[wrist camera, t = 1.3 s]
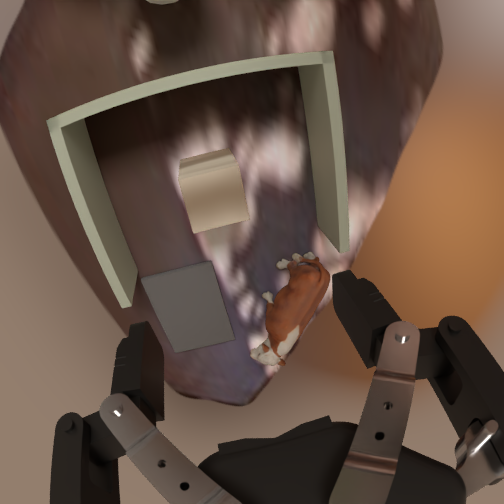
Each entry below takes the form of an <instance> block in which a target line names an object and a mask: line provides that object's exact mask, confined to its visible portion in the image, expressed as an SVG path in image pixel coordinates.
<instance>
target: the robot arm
mask: <svg viewBox="0 0 504 504" xmlns="http://www.w3.org/2000/svg"><path fill="white" fill-rule="evenodd" d="M332 287H333V305H334V309H335V312H336V314H337V316H338V318H339V320H340V321H341V323H342V325H343V326H344V328H345V330H346V332H347V333H348V335H349V337H350V339H351V340H352V342H353V344H354V346H355V348H356V349H357V351H358V353H359V354H360V356H361V358H362V360H363V361H364V364H365V365H366V367H367V369H368V368H371V367H373V366H376V371H375V372H374V375H373V379H372V383H371V386H370V389H369V393H368V397H367V400H366V403H365V406H364V409H363V412H362V416H361V419H360V422H359V425H357V424H354V423H349V422H331V419H330V417H329V416H326V417H322V418H319V419H316V420H313V421H310V422H306V423H303V424H301V425H299V426H297V427H296V428H294V429H292V430H290V431H288V432H286V433H284V434H282V435H280V436H279V437H276V438H256V439H255V438H254V439H253V438H250V439H249V438H248V439H247V438H245V439H240V440H236V441H231V442H226V443H221V444H218V448H219V451H218V452H216V453H214V454H212V455H210V456H209V457H208V458H206V459H205V460H204V461H203V462H201V463H200V464H199V466H198V467H197V466H196V465H195V464H193V463H192V462H191V461H190V460H189V459H188V458H187V457H186V456H185V455H184V454H183V453H182V452H181V451H179V450H178V449H177V448H176V447H175V446H174V445H173V444H172V443H171V442H170V441H169V440H168V439H167V438H166V437H165V436H164V435H163V434H162V433H161V432H160V431H159V430H158V429H157V428H156V422H157V421H163V420H164V354H163V350H162V347H161V344H160V343H159V341H158V339H157V337H156V335H155V333H154V331H153V329H152V327H151V326H150V324H149V322H148V321H145V322H141V323H136V324H132V325H130V329H129V336H128V337H127V338H123V339H122V341H121V342H120V344H119V346H118V348H117V352H116V359H115V367H114V372H113V380H112V387H111V394H110V396H108V397H107V398H106V399H105V400H104V401H103V402H102V404H101V406H100V410H99V411H97V412H95V413H93V414H91V415H88V416H86V417H84V418H82V417H81V416H80V415H79V414H77V413H73V412H70V413H67V414H65V415H64V416H62V417H61V418H60V419H59V421H58V422H57V425H56V428H55V437H54V446H53V455H52V468H51V484H50V504H120V494H119V475H118V458H119V457H121V456H124V455H126V454H127V456H128V457H129V458H130V460H131V461H132V462H133V463H134V464H135V466H136V467H137V468H138V469H139V470H140V472H141V473H142V474H143V475H144V476H145V477H146V478H147V480H148V481H149V482H150V483H151V484H152V485H153V486H154V487H155V488H156V489H157V491H158V492H159V493H160V494H161V495H162V496H163V497H164V498H165V499H166V500H167V501H168V502H169V503H170V504H466V498H467V497H468V496H470V495H472V494H473V493H474V492H477V491H478V490H480V489H481V488H483V487H485V486H486V485H493V484H496V483H498V482H499V481H501V480H502V479H504V372H503V370H502V369H501V367H500V366H499V364H498V363H497V362H496V360H495V359H494V357H493V356H492V355H491V353H490V352H489V351H488V349H487V348H486V347H485V345H484V344H483V343H482V341H481V340H480V338H479V337H478V336H477V335H476V334H475V332H474V331H473V330H472V328H471V327H470V325H469V324H468V323H467V322H466V321H465V320H464V319H462V318H460V317H457V316H447V317H445V318H443V319H442V320H441V321H440V322H439V325H438V327H434V328H425V329H418V328H417V327H416V326H415V325H414V324H412V323H409V322H406V321H402V320H401V319H400V317H399V316H398V315H397V313H396V312H395V311H394V309H393V308H392V307H391V306H390V304H389V303H388V302H387V300H386V299H384V296H383V295H382V294H381V293H380V292H379V290H378V289H377V288H376V286H375V285H374V284H373V283H372V282H370V281H368V280H367V279H365V278H361V279H357V278H356V277H355V275H354V274H353V273H352V271H351V270H346V271H343V272H339V273H336V274H333V276H332ZM426 378H427V379H428V381H429V382H430V384H431V386H432V388H433V389H434V391H435V393H436V395H437V397H438V398H439V400H440V402H441V404H442V406H443V408H444V410H445V411H446V413H447V415H448V417H449V419H450V421H451V423H452V425H453V427H454V428H455V430H456V432H457V434H458V436H459V438H460V439H459V440H458V442H457V443H456V446H455V456H456V459H457V466H456V469H453V468H452V467H450V466H448V465H446V464H444V463H441V462H439V461H436V460H434V459H431V458H429V457H427V456H425V455H422V454H420V453H418V452H416V451H413V450H411V449H409V448H407V447H405V446H402V442H403V438H404V434H405V430H406V426H407V421H408V417H409V412H410V407H411V402H412V397H413V391H414V386H415V380H418V379H426Z"/></svg>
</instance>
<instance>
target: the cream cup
mask: <svg viewBox="0 0 504 504" xmlns="http://www.w3.org/2000/svg"><path fill="white" fill-rule="evenodd" d="M146 1H148V2H150V3H155V4H161V5H163V4H169V3H175V2H177V1H179V0H146Z"/></svg>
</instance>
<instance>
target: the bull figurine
mask: <svg viewBox="0 0 504 504" xmlns="http://www.w3.org/2000/svg"><path fill="white" fill-rule="evenodd" d="M292 258H293V261H288V260H285V259H282V262H281V261H279V262H277V264H276V267H277V268H278V269H284V268H287V269H288V270H289V271H290V280H289V283H288V285H286V286H285V287H283V288H282V289H281V290H280V291H279V292H278V294H277V295H276V297H275V300H274V303H273V301H272V297H273V294H272V293H270V292H267V293H263V294H262V297H263V298H264V299H266V300H267V301H268V303H267V306H266V307H267V311H266V323H265V325H266V330H267V332H268V338H267V340H266V341H264V342H263V343H262V344H261V345H259V347H258V348H257V349H255V348H254V349H252V350H251V352H250V353H251V354H250V356H251V357H252V358H253V359H254V360H257V361H259V362H261V363H262V364H265V365H271V366H274V365H276V364H278V365H281V366H284V365H285V361H284V360H283V359H281V358H280V357H281V356H283V355H285V354H286V353H288V352H289V351H290V349H291V348H292V346H293V344H294V343H295V342H296V341H297V339H298V338H299V337H300V336H301V334H302V332H303V330H304V328H305V327H306V325H307V324H308V322H309V321H310V319H311V317H312V316H313V314H314V312H315V310H316V308H317V306H318V305H319V303H320V302H321V300H322V298H323V297H324V295H325V293H326V291H327V288H328V286H329V282H330V274H329V272H328V271H327V270H326V269H325V268H324V267H323V266H322V264H321V263H319V258H318V257H315V256H314V255H313V253H312V252H308V253H305V254H304V255H303V257H302V256H301V255H299V254H297V253H295V254H293V255H292ZM302 262H306V263H310V265H300V266H298V264H299V263H302Z"/></svg>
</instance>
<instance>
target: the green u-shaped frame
mask: <svg viewBox="0 0 504 504" xmlns="http://www.w3.org/2000/svg"><path fill="white" fill-rule="evenodd" d="M292 66H298V71H299V77H300V83H301V89H302V96H303V103H304V110H305V117H306V124H307V131H308V139H309V147H310V155H311V164H312V173H313V182H314V191H315V202H316V212H317V223H318V227H319V228H320V229H321V230H322V232H323V233H324V234H325V235H326V237H327V238H328V239H329V240H330V242H331V243H332V244H333V245H334V247H335V248H336V249H337V250H338V252H339V253H344V252H347V251H349V213H348V191H347V174H346V160H345V148H344V136H343V126H342V116H341V107H340V99H339V91H338V83H337V76H336V69H335V62H334V56H333V51H319V52H305V53H294V54H285V55H276V56H268V57H261V58H254V59H248V60H242V61H236V62H230V63H225V64H220V65H215V66H210V67H205V68H201V69H196V70H192V71H188V72H184V73H180V74H176V75H172V76H168V77H164V78H161V79H157V80H154V81H150V82H147V83H144V84H140V85H137V86H134V87H131V88H128V89H125V90H122V91H119V92H116V93H113V94H110V95H107V96H105V97H102V98H99V99H96V100H94V101H91V102H89V103H86V104H84V105H81V106H79V107H76V108H74V109H71V110H69V111H67V112H64V113H62V114H60V115H57V116H55V117H53V118H51V119H49V120H46V121H47V125H48V128H49V132H50V135H51V138H52V142H53V145H54V148H55V151H56V154H57V157H58V160H59V163H60V166H61V169H62V172H63V175H64V178H65V180H66V183H67V186H68V189H69V191H70V194H71V197H72V199H73V202H74V204H75V207H76V209H77V212H78V214H79V217H80V219H81V222H82V224H83V227H84V229H85V231H86V234H87V236H88V238H89V241H90V243H91V245H92V247H93V250H94V252H95V254H96V256H97V258H98V261H99V263H100V265H101V267H102V269H103V271H104V273H105V275H106V277H107V279H108V281H109V283H110V285H111V287H112V289H113V291H114V293H115V295H116V297H117V299H118V301H119V303H120V305H121V307H122V308H125V307H129V306H132V301H133V295H134V290H135V284H136V279H137V274H138V269H137V267H136V264H135V262H134V260H133V257H132V255H131V252H130V250H129V248H128V245H127V243H126V240H125V238H124V235H123V233H122V230H121V227H120V225H119V222H118V220H117V217H116V214H115V212H114V209H113V206H112V204H111V201H110V198H109V195H108V192H107V190H106V187H105V184H104V181H103V178H102V175H101V172H100V169H99V166H98V163H97V160H96V157H95V153H94V150H93V147H92V144H91V140H90V137H89V134H88V130H87V127H86V123H85V120H84V118H85V117H88V116H91V115H93V114H96V113H98V112H101V111H104V110H107V109H110V108H112V107H115V106H118V105H121V104H124V103H127V102H130V101H133V100H137V99H140V98H143V97H146V96H150V95H153V94H156V93H160V92H164V91H167V90H171V89H175V88H179V87H182V86H186V85H191V84H195V83H199V82H203V81H208V80H213V79H217V78H222V77H227V76H233V75H238V74H244V73H249V72H256V71H262V70H269V69H276V68H284V67H292Z"/></svg>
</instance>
